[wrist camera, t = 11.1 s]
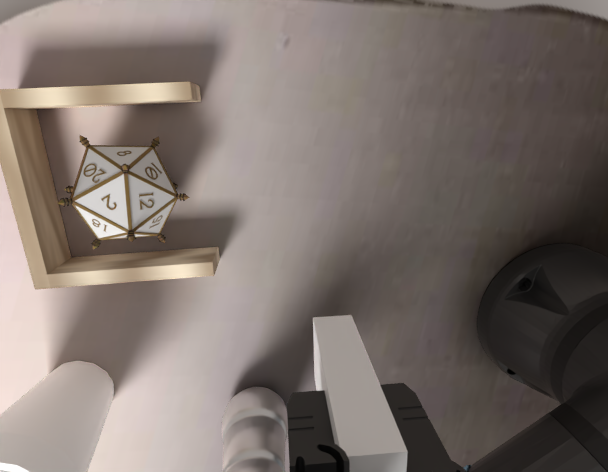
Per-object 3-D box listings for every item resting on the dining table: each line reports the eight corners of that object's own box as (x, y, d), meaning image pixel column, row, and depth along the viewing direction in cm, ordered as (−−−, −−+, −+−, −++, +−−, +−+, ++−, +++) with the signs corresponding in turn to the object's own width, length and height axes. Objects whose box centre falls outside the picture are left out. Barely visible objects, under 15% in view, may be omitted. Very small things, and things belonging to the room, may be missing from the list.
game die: (134, 186, 37) (14, 201, 29) (165, 112, 32) (33, 105, 24) (189, 254, 35) (77, 292, 27) (230, 185, 30) (111, 204, 22)
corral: (199, 86, 31) (189, 81, 28) (219, 258, 36) (214, 275, 32) (16, 93, 30) (-20, 90, 27) (60, 270, 35) (35, 289, 31)
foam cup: (51, 331, 36) (-60, 440, 24) (145, 368, 39) (87, 487, 26) (17, 407, 38) (-102, 543, 26) (107, 438, 40) (37, 579, 28)
